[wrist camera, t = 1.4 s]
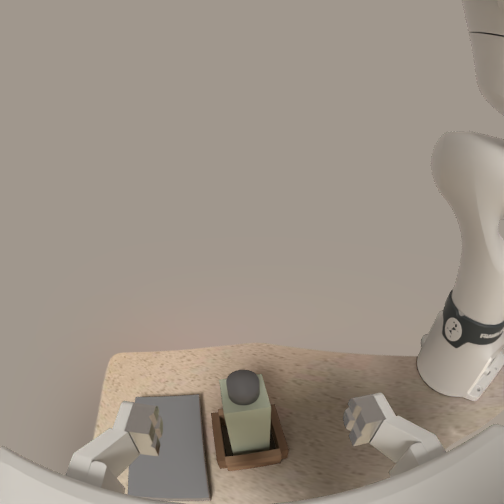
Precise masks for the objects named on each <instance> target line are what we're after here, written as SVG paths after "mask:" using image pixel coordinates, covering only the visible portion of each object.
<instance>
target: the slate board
mask: <svg viewBox="0 0 504 504" xmlns="http://www.w3.org/2000/svg"><path fill="white" fill-rule="evenodd" d="M135 403H140V404H147V405H154V406H158V408H159V416H161V417H162V421H163V433H162V437H161V438H159V441H160V444H161V445H160V451H159V456H152V455H144V454H140V455H139V456H138V457H137V458H136V459H135V460H134V461H133V462H132V463H131V464H130V465H129V476H128V495H132V496H137V497H142V498H148V499H153V500H161V501H204V500H211V497H210V490H209V482H208V474H207V466H206V457H205V448H204V438H203V427H202V415H201V401H200V397H199V394H198V395H185V396H166V397H136V399H135Z"/></svg>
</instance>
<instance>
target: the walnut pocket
mask: <svg viewBox="0 0 504 504" xmlns="http://www.w3.org/2000/svg"><path fill="white" fill-rule="evenodd" d="M211 417H212V425H213V434H214V442H215V450H216V457H217V462H218V465H219V467H220V469H222V468H228V471H233V470H241V469H248V468H255V467H261V466H267V465H272V464H277V463H280V462H281V459H286V458H287V456H288V451H289V449H288V446H287V443H286V440H285V436H284V433H283V430H282V427H281V424H280V420H279V417H278V414H277V411H276V408H275V404H273V405H271V423H270V428H271V432H272V436H273V439H274V443H275V446H276V449H274V450H268V451H263V452H257V453H251V454H244V455H236V456H228V457H226V452H225V446H224V439H223V432H222V426H223V425H226V421H225V417H224V411H223V409H219V410H218V413H211Z"/></svg>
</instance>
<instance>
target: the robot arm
mask: <svg viewBox="0 0 504 504" xmlns="http://www.w3.org/2000/svg"><path fill="white" fill-rule="evenodd" d="M462 3H463V8H464V13H465V18H466V22H467V27H468V31H469V36H470V41H471V46H472V51H473V57H474V63H475V71H476V79H477V84H478V87H479V90H480V92H481V94H482V95H483V97H484V98H485V99H486V101H487V102H488V103H490V105H491V106H492V107H494V108H495V109H496V110H497V111H498V112H499V113H501V114H502V115H503V116H504V0H462ZM431 170H432V175H433V179H434V182H435V184H436V187H437V188H438V190H439V192H440V193H441V195H442V196H443V197H444V198H445V199H446V200H447V202H448V203H449V205H450V206H451V208H452V210H453V212H454V214H455V216H456V218H457V221H458V224H459V227H460V231H461V237H462V254H461V260H460V266H459V270H458V275H457V278H456V282H455V286H454V288H453V290H452V291H451V292H450V294H449V296H448V298H447V300H446V303H445V307H444V310H442V311H440V312H439V313H438V315H437V318H436V319H435V322H434V324H433V326H432V328H431V330H430V332H429V334H426V335H424V336H423V338H422V339H421V347H422V348H421V351H420V353H419V355H418V358H417V367H418V370H419V373H420V375H421V377H422V378H423V380H424V381H425V382H426V383H427V384H428V385H429V386H430V387H431V388H432V389H434V390H435V391H437V392H439V393H441V394H444V395H447V396H455V397H464V398H466V399H469V400H471V401H477V400H478V399H479V398H480V397H481V395H482V394H483V393H484V392H485V390H486V389H487V388H488V386H489V385H490V384H491V382H492V381H493V380H494V378H495V377H496V375H497V374H498V373H499V371H500V370H501V368H502V367H503V365H504V354H503V352H502V349H503V347H504V331H503V330H504V239H503V238H502V237H501V235H500V233H499V231H498V225H499V221H500V220H504V139H500V138H497V137H493V136H489V135H485V134H481V133H476V132H446V133H444V134H443V135H442V136H441V137H440V138H439V140H438V141H437V143H436V145H435V147H434V149H433V153H432V158H431ZM348 405H349V407H348V408H347V409H346V410H345V412H344V416H343V421H344V425H345V428H346V429H347V430H349V431H350V434H349V438H350V440H351V443H352V445H353V446H357V445H362V444H366V443H370V444H371V445H372V446H373V447H375V448H376V449H377V450H379V451H380V452H381V453H383V454H384V455H385V456H387V457H388V458H389V459H391V460H392V461H393V462H395V463H396V464H395V465H394V466H393V468H392V469H391V470H390V471H389V474H390V476H391V477H390V478H387V479H384V480H381V481H378V482H375V483H372V484H369V485H366V486H362V487H359V488H355V489H352V490H348V491H344V492H340V493H336V494H331V495H327V496H322V497H317V498H311V499H305V500H299V501H292V502H284V503H274V504H504V426H503V425H499V424H493V425H491V426H489V427H488V428H486V429H485V430H483V431H482V432H480V433H479V434H477V435H476V436H474V437H472V438H471V439H469V440H468V441H466V442H464V443H463V444H461V445H459V446H457V447H456V448H454V449H452V450H450V451H448V452H446V451H445V449H444V448H443V446H442V444H441V443H440V441H439V440H438V438H437V436H436V435H435V434H433V433H431V432H429V431H427V430H425V429H423V428H421V427H419V426H418V425H416V424H414V423H412V422H410V421H408V420H406V419H404V418H402V417H401V416H396V415H395V413H394V412H393V410H392V408H391V407H390V405H389V403H388V402H387V400H386V398H385V397H384V395H383V394H382V393H376V394H372V395H366V396H361V397H356V398H351V399H350V400H349V402H348ZM162 433H163V421H162V417H161V416H159V408H158V406H154V405H147V404H140V403H134V402H128V401H123V402H122V403H121V406H120V409H119V411H118V414H117V417H116V420H115V423H114V426H113V429H111V428H109V429H108V430H106V431H105V432H104V433H102V434H101V435H99V436H98V437H96V438H95V439H94V440H92V441H91V442H89V443H88V444H86V445H85V446H84V447H82V448H81V449H79V450H78V451H76V452H75V453H74V454H73V456H72V459H71V462H70V464H69V467H68V470H67V473H66V475H62V474H60V473H58V472H55V471H53V470H51V469H48V468H46V467H44V466H42V465H39V464H37V463H35V462H33V461H31V460H29V459H27V458H25V457H23V456H21V455H19V454H18V453H16V452H14V451H12V450H10V449H8V448H6V447H3V446H1V447H0V504H184V503H175V502H167V501H160V500H153V499H148V498H142V497H137V496H132V495H128V494H124V493H125V488H124V486H123V485H122V484H121V483H120V482H119V481H118V479H117V477H118V476H119V475H120V474H121V473H122V472H123V471H124V470H125V469H126V468H127V467H128V466H129V465H130V464H131V463H132V462H133V461H134V460H135V459H136V458H137V457H138V456H139V455H140V454H144V455H152V456H159V451H160V445H161V444H160V441H159V438H161V437H162Z"/></svg>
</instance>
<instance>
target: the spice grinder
mask: <svg viewBox="0 0 504 504" xmlns="http://www.w3.org/2000/svg"><path fill="white" fill-rule="evenodd" d="M219 382H220V390H221V397H222V404H223V411H224V417H225V421H226V426H227V430H228V434H229V439H230V443H231V447H232V451H233V455H234V456H236V455H244V454H251V453H257V452H263V451H268V450H269V448H270V423H271V405H270V402H269V398H268V395H267V391H266V388H265V384H264V381H263V377H262V374H258V375H256V374H255V373H254V372H252V371H249V370H238V371H235V372H233V373H231V374H230V375H229V376H228V378H227V379H222V380H219Z"/></svg>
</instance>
